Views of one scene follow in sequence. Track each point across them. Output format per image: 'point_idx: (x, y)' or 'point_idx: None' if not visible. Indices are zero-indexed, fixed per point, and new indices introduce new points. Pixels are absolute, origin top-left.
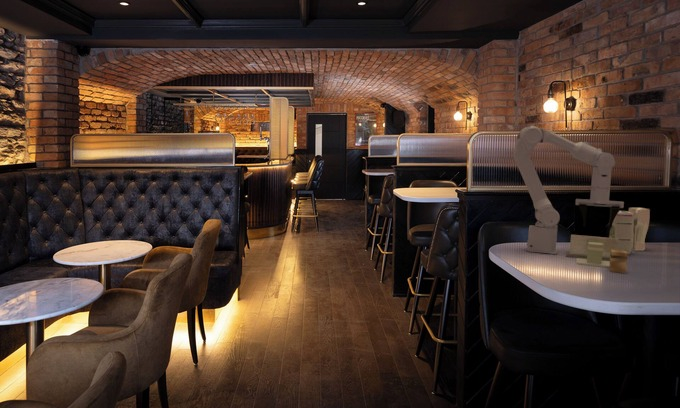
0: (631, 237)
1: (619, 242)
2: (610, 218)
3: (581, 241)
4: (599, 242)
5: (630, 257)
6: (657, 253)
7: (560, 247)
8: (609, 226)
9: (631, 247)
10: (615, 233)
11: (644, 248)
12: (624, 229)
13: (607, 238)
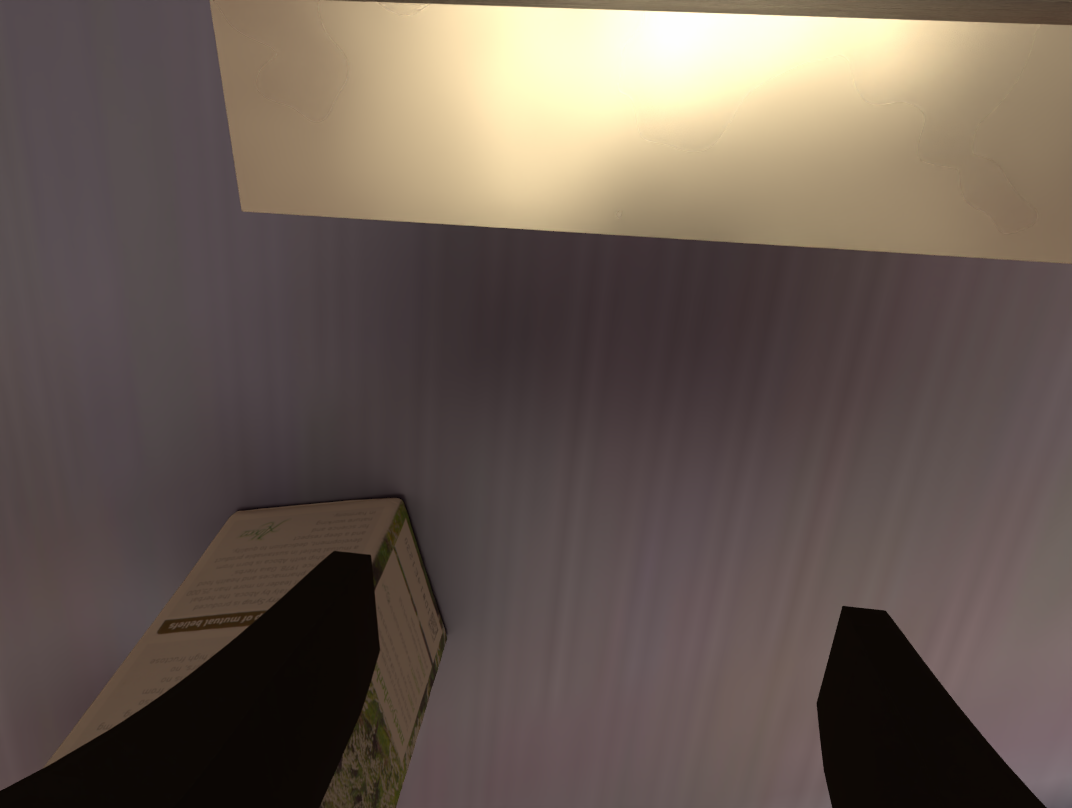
0: (128, 656)
1: None
2: (258, 726)
3: (990, 15)
4: (609, 1)
5: (222, 347)
6: (23, 643)
7: (1001, 606)
8: (345, 573)
9: None
10: None
11: None
12: None
13: (434, 97)
